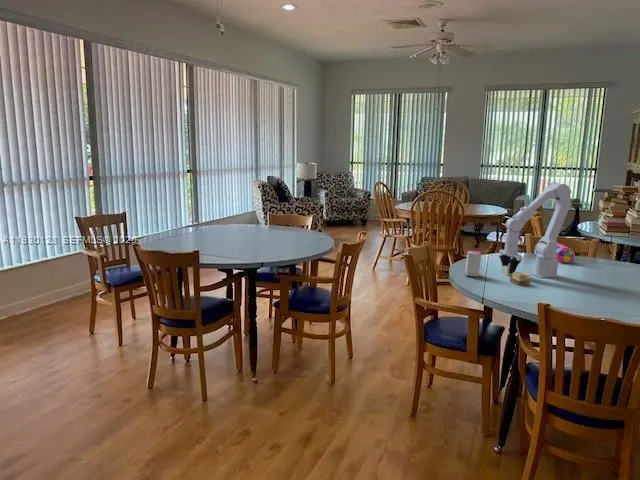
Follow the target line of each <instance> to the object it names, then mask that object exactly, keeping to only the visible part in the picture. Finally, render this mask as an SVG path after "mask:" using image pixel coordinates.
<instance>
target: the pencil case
mask: <svg viewBox="0 0 640 480" xmlns="http://www.w3.org/2000/svg"><path fill="white" fill-rule="evenodd" d="M557 244H558V246H557V253H556V255H555V256H554V257H555V258H556V259H557V260H558V263H563V264H570V263H571V262H572V261H573V260H574V259H575V253H574V250H573V248H571V247H568V246H566V245H564V244H561V243H559V242H558V241H557Z"/></svg>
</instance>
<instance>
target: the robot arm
mask: <svg viewBox="0 0 640 480" xmlns="http://www.w3.org/2000/svg"><path fill="white" fill-rule="evenodd" d="M571 194H572V190H571V188H570V187H569V186H568V184H566V183H560V182H550V183H548V185H547V186H546V187H544V189H543V190H542V191H541V193H540V194H538V196H537V197H536V198H534V200H533V201H531V203H530V204H529V205H527V206H523V207H520V208H519V211H517V213H515V214H514V215H512V217H511V218H508V219H507V220H506V222H505V223H504V226H505V228H506V233H505V243H504V249H499V252H498V254H500V255H499V257H498V258H499V259H500V262H501V266H502V267H501V268H502V269H503V266H510V273H513V272H516V270H517V267H518V266H519V264H520V263H521V262H522V261H523V256H522V255H520V253H518V248H519V241H520V239H519V238H520V231H521V230H522V229H523V227H524V225H525V224H526V223H527V222H528V221H529V220H530V219H531V218H533V216H534V215H535V211H536V210H537V209H539V208H540V207H541V206H543V204H544V203H546V202H547V201H549V200H554V201H555V203H556V206H555V209H554V211H553V213H552V216H551V219H550V222H549V223H548V227H547V229H546V230H545V234H544V236H542V237H541V238H540V239H539V241H538V242H537V243H536V245H535V246H534V250H535V252H536V258H535V259H536V260H535V266H534V271H533V272H530V275H534V276H535V277H539V278H541V279H542V278H558V277H559V276H558V269H559V261H558V260H557V259H556V258H555V257H554V256H555V255H556V253H557V246H558V244H559V243H558V244H557V242H558V241H557V239H558V237H559V234H560V232H561V230H562V228H563V225H564V222H565V219H566V217H567V214H568V212H569V210H570V207H571V205H572V199H571V198H572V197H571Z"/></svg>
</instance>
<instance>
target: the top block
mask: <svg viewBox="0 0 640 480" xmlns="http://www.w3.org/2000/svg"><path fill="white" fill-rule="evenodd" d="M501 274H502V275H503V276H507V277H512V275H513V273H510V265H509V266H503V268H502V271H501Z"/></svg>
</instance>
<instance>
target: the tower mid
mask: <svg viewBox="0 0 640 480" xmlns="http://www.w3.org/2000/svg"><path fill="white" fill-rule="evenodd" d="M530 275H531V274H528V273H526V272H523V271H515V272H513V275H512V276H511V277H512V278H514V279H516V280H518V281H526V280H530Z"/></svg>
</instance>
